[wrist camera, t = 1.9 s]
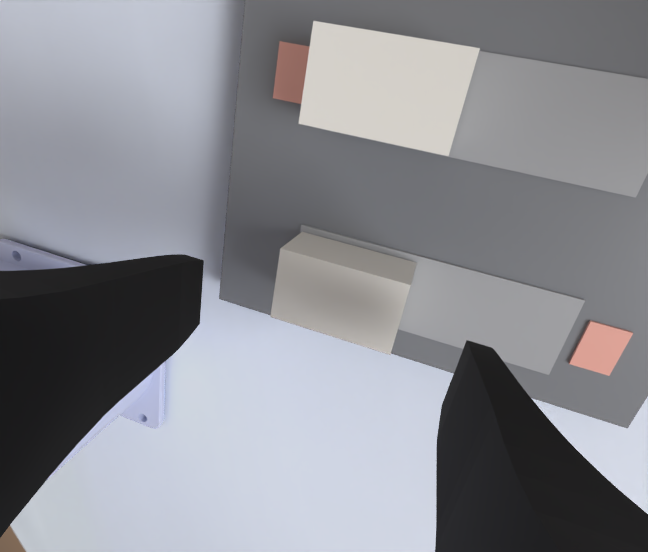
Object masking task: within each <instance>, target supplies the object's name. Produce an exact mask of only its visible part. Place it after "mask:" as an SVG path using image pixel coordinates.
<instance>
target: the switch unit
mask: <svg viewBox="0 0 648 552" xmlns="http://www.w3.org/2000/svg"><path fill="white" fill-rule="evenodd" d="M313 21H318V22H324V23H330V24H336V25H342V26H348V27H354V28H360V29H366V30H372V31H378V32H385V33H391V34H397V35H403V36H409V37H415V38H421V39H427V40H433V41H439V42H445V43H451V44H457V45H463V46H470V47H476V48H480V50H479V54H478V57H477V60H476V64H475V67H474V71H473V74H472V78H471V81H470V84H469V88H468V91H467V95H466V98H465V101H464V105H463V108H462V112H461V115H460V119H459V122H458V125H457V129H456V132H455V136H454V139H453V142H452V146H451V149H450V153H449V156H445V155H440V154H436V153H431V152H426V151H422V150H417V149H413V148H408V147H403V146H399V145H394V144H390V143H385V142H380V141H376V140H371V139H367V138H362V137H357V136H353V135H348V134H344V133H339V132H334V131H330V130H325V129H321V128H316V127H311V126H307V125H302V124H298V123H299V116H300V110H301V103H302V96H303V89H304V82H305V75H306V68H307V61H308V55H309V48H310V41H311V34H312V27H313ZM301 232H305V233H309V234H312V235H316V236H320V237H324V238H327V239H331V240H335V241H338V242H342V243H346V244H349V245H353V246H357V247H360V248H364V249H368V250H372V251H375V252H379V253H383V254H386V255H390V256H394V257H397V258H401V259H405V260H409V261H412V262H416V263H417V264H416V268H415V271H414V275H413V279H412V282H411V286H410V289H409V293H408V296H407V300H406V303H405V306H404V310H403V313H402V317H401V320H400V324H399V327H398V330H397V334H396V337H395V341H394V344H393V348H392V351H391V354H395V355H398V356H401V357H404V358H407V359H410V360H413V361H417V362H420V363H423V364H426V365H429V366H432V367H436V368H439V369H442V370H445V371H448V372H451V373H454V372H455V370H456V367H457V364H458V362H459V359H460V356H461V354H462V351H463V348H464V346H465V343H466V340H468V341H472V342H475V343H478V344H482V345H485V346H488V347H492V348H493V349H494V350H495V351H496V353H497V354H498V355H499V356H500V358H501V359H502V360H503V362H504V363H505V364H506V366H507V367H508V369H509V370H510V371H511V373H512V374H513V375H514V377H515V378H516V379H517V381H518V382H519V383H520V385H521V386H522V387H523V389H524V390H525V391H526V392H527V394H528V395H529V396H530V398H533V399H536V400H540V401H543V402H546V403H549V404H552V405H555V406H559V407H562V408H565V409H568V410H571V411H574V412H578V413H581V414H584V415H587V416H590V417H593V418H596V419H600V420H603V421H606V422H609V423H612V424H615V425H619V426H622V427H625V428H628V427H629V425H630V423H631V422H632V420H633V419H634V417H635V415H636V414H637V412H638V411H639V409H640V407H641V406H642V404H643V403H644V401H645V399H646V398H647V396H648V0H245V5H244V16H243V28H242V40H241V51H240V63H239V75H238V86H237V98H236V109H235V121H234V133H233V144H232V156H231V167H230V179H229V191H228V202H227V214H226V225H225V237H224V249H223V260H222V272H221V283H220V295H219V299H221V300H224V301H227V302H230V303H234V304H237V305H240V306H243V307H246V308H249V309H253V310H256V311H259V312H262V313H265V314H268V315H271V309H272V302H273V295H274V288H275V282H276V275H277V268H278V261H279V254H280V248H282V247H283V246H284V245H286V244H287V243H288V242H289V241H291V240H292V239H293V238H295V237H296V236H297V235H299V234H300V233H301Z"/></svg>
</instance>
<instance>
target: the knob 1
mask: <svg viewBox="0 0 648 552" xmlns="http://www.w3.org/2000/svg"><path fill="white" fill-rule="evenodd" d="M479 50H480V48H476V47H470V46H463V45H457V44H451V43H445V42H439V41H433V40H427V39H421V38H415V37H409V36H403V35H397V34H391V33H385V32H378V31H372V30H366V29H360V28H354V27H348V26H342V25H336V24H330V23H324V22H318V21H313V27H312V34H311V41H310V48H309V55H308V61H307V68H306V75H305V82H304V89H303V96H302V103H301V110H300V116H299V123H298V124H302V125H307V126H311V127H316V128H321V129H325V130H330V131H334V132H339V133H344V134H348V135H353V136H357V137H362V138H367V139H371V140H376V141H380V142H385V143H390V144H394V145H399V146H403V147H408V148H413V149H417V150H422V151H426V152H431V153H436V154H440V155H445V156H449V153H450V149H451V146H452V142H453V139H454V136H455V132H456V129H457V125H458V122H459V119H460V115H461V112H462V108H463V105H464V101H465V98H466V95H467V91H468V88H469V84H470V81H471V78H472V74H473V71H474V67H475V64H476V60H477V57H478V54H479Z"/></svg>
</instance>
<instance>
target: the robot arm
mask: <svg viewBox="0 0 648 552" xmlns="http://www.w3.org/2000/svg"><path fill="white" fill-rule="evenodd" d="M203 263H204V260H200V259H197V258H194V257H190V256H187V255H164V256H155V257H147V258H140V259H133V260H125V261H118V262H111V263H103V264H94V265H85V264H82V263H79V262H76V261H73V260H70V259H67V258H63V257H60V256H57V255H54V254H51V253H48V252H45V251H42V250H39V249H35V248H32V247H29V246H26V245H23V244H20V243H17V242H14V241H11V240H7V239H0V537H1V536H2V535H3V533H4V532H5V531H6V529H7V528H8V527H9V525H10V524H11V523H12V522H13V520H14V519H15V518H16V517H17V515H18V514H19V513H20V512H21V510H22V509H23V508H24V507H25V506H26V504H27V503H28V502H29V501H30V499H31V498H32V497H33V496H34V495H35V493H36V492H37V491H38V490H39V488H40V487H41V486H42V485H43V483H44V482H45V481H46V480H48V479H49V478H50V477H51V476H52V475H53V474H54V473H55V472H56V471H58V470H59V469H60V468H61V467H62V466H63V465H64V464H65V463H67V462H68V461H69V460H70V459H71V458H72V457H73V456H74V455H76V454H77V453H78V452H79V451H80V450H81V449H82V448H83V447H85V446H86V445H87V444H88V443H89V442H90V441H91V440H92V439H93V438H95V437H96V436H97V435H98V434H99V433H100V432H101V431H102V430H104V429H105V428H106V427H107V426H108V425H109V424H110V423H111V422H113V421H114V420H115V419H116V418H117V417H118V416H119V415H120V416H123V417H125V418H128V419H130V420H133V421H135V422H138V423H140V424H143V425H145V426H148V427H150V428H158V427H159V426H160V425H161V424H162V423H163V421H164V399H165V365H166V360H167V359H168V358H169V357H170V356H172V355H173V354H174V353H175V352H176V351H177V350H178V349H179V348H180V347H181V346H182V344H183V343H184V342H185V341H186V340H187V339H188V338H189V336H190V335H191V334H192V333H193V331H194V330H195V329H196V328H197V326H198V325H199V324H200V309H201V294H202V278H203ZM435 552H648V514H647V513H645V512H644V511H643V510H642V509H641V508H640V507H638V506H637V505H636V504H635V503H634V502H632V501H631V500H630V499H629V498H628V497H627V496H625V495H624V494H623V493H622V492H621V491H619V490H618V489H617V488H616V487H615V486H614V485H613V484H612V483H611V482H609V481H608V480H607V479H606V478H605V477H604V476H603V475H602V474H601V473H600V472H599V471H598V470H597V469H596V468H595V467H594V466H592V465H591V464H590V463H589V462H588V461H587V460H586V459H585V458H584V457H583V456H582V455H581V454H580V453H579V452H578V451H577V450H576V449H575V448H574V447H573V446H572V445H571V444H570V443H569V442H568V441H567V439H566V438H565V437H564V436H563V435H562V434H561V433H560V432H559V431H558V430H557V428H556V427H555V426H554V425H553V424H552V423H551V422H550V420H549V419H548V418H547V417H546V416H545V415H544V414H543V412H542V411H541V410H540V409H539V408H538V406H537V405H536V404H535V403H534V401H533V400H532V399H531V398H530V396H529V395H528V394H527V392H526V391H525V390H524V389H523V387H522V386H521V385H520V383H519V382H518V381H517V379H516V378H515V377H514V375H513V374H512V373H511V371H510V370H509V369H508V367H507V366H506V364H505V363H504V362H503V360H502V359H501V358H500V356H499V355H498V354H497V353H496V351H495V350H494V349H493V348H492V347H488V346H485V345H482V344H478V343H475V342H472V341H468V340H466V343H465V346H464V348H463V351H462V354H461V356H460V359H459V362H458V364H457V367H456V370H455V372H454V375H453V378H452V380H451V383H450V386H449V388H448V391H447V394H446V396H445V399H444V401H443V404H442V409H441V415H440V422H439V429H438V437H437V526H436V550H435Z"/></svg>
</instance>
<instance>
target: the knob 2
mask: <svg viewBox="0 0 648 552" xmlns="http://www.w3.org/2000/svg"><path fill="white" fill-rule="evenodd" d="M416 264H417V263H416V262H412V261H409V260H405V259H401V258H397V257H394V256H390V255H386V254H383V253H379V252H375V251H372V250H368V249H364V248H360V247H357V246H353V245H349V244H346V243H342V242H338V241H335V240H331V239H327V238H324V237H320V236H316V235H312V234H309V233H305V232H301V233H300V234H299V235H297V236H296V237H295V238H293V239H292V240H291V241H289V242H288V243H287V244H286V245H284V246H283V247H282V248H280V254H279V261H278V268H277V275H276V282H275V288H274V295H273V302H272V309H271V316H270V317H272V318H276V319H279V320H282V321H285V322H288V323H291V324H295V325H298V326H301V327H304V328H307V329H310V330H313V331H317V332H320V333H323V334H326V335H329V336H332V337H335V338H339V339H342V340H345V341H348V342H351V343H354V344H357V345H361V346H364V347H367V348H370V349H373V350H376V351H379V352H383V353H386V354H389V355H390V354H391V351H392V348H393V344H394V341H395V337H396V334H397V330H398V327H399V324H400V320H401V317H402V313H403V310H404V306H405V303H406V300H407V296H408V293H409V289H410V286H411V282H412V279H413V275H414V271H415V268H416Z"/></svg>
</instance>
